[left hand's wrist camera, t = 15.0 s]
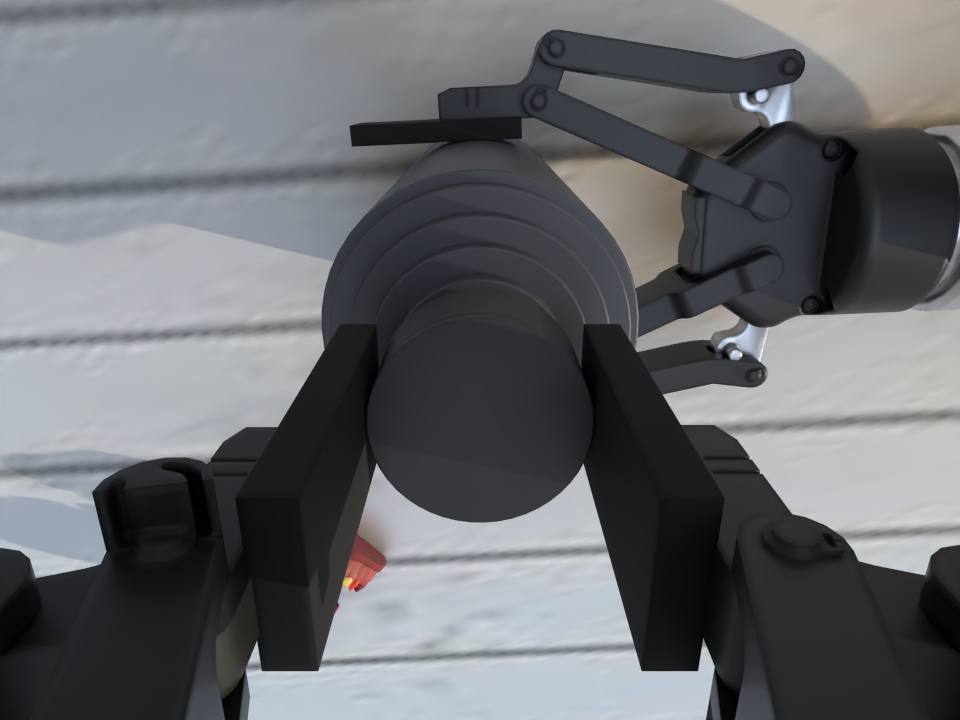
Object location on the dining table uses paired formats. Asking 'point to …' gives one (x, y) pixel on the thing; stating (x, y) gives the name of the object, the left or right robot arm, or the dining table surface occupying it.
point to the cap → (480, 407)
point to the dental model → (362, 565)
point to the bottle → (480, 245)
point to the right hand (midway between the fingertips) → (369, 245)
